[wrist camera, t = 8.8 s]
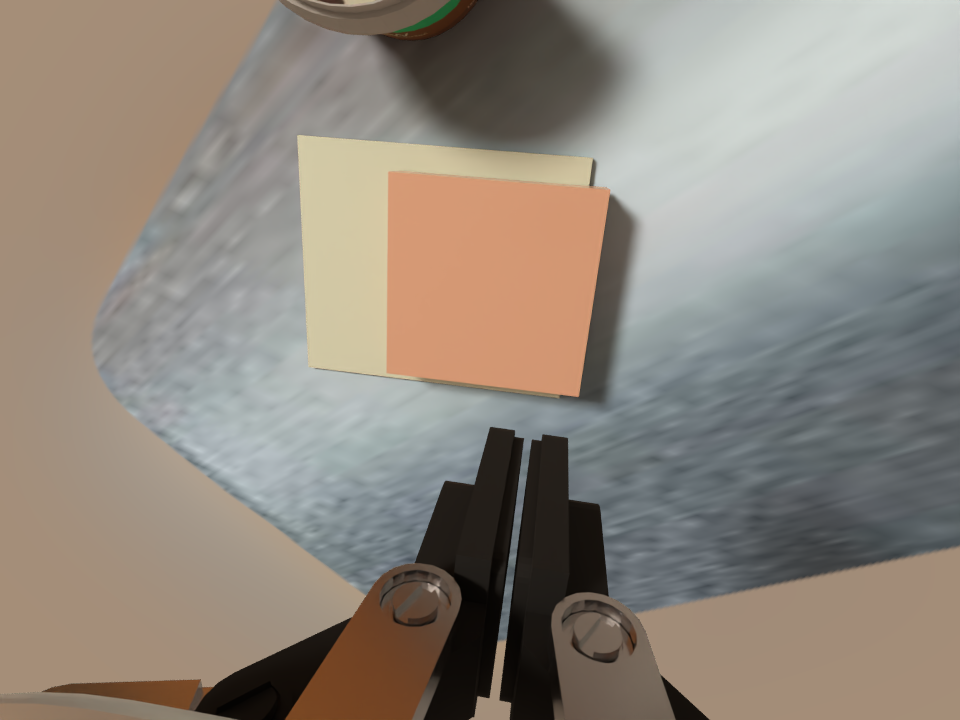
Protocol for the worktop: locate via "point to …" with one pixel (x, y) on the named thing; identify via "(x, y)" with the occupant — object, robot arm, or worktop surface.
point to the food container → (384, 16)
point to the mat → (379, 236)
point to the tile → (491, 279)
